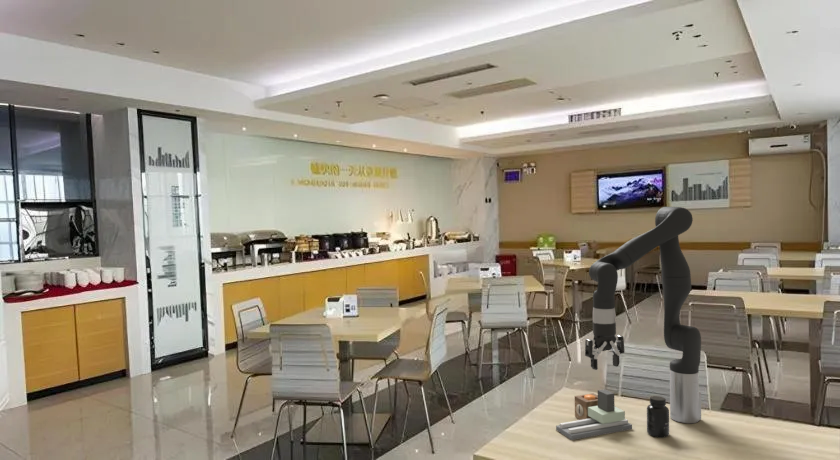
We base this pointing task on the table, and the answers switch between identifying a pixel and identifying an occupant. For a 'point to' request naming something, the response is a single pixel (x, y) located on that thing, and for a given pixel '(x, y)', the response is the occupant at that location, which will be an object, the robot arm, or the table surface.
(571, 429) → the track
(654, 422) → the supplement bottle
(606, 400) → the carriage
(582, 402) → the cabinet
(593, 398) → the button
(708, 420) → the table surface
